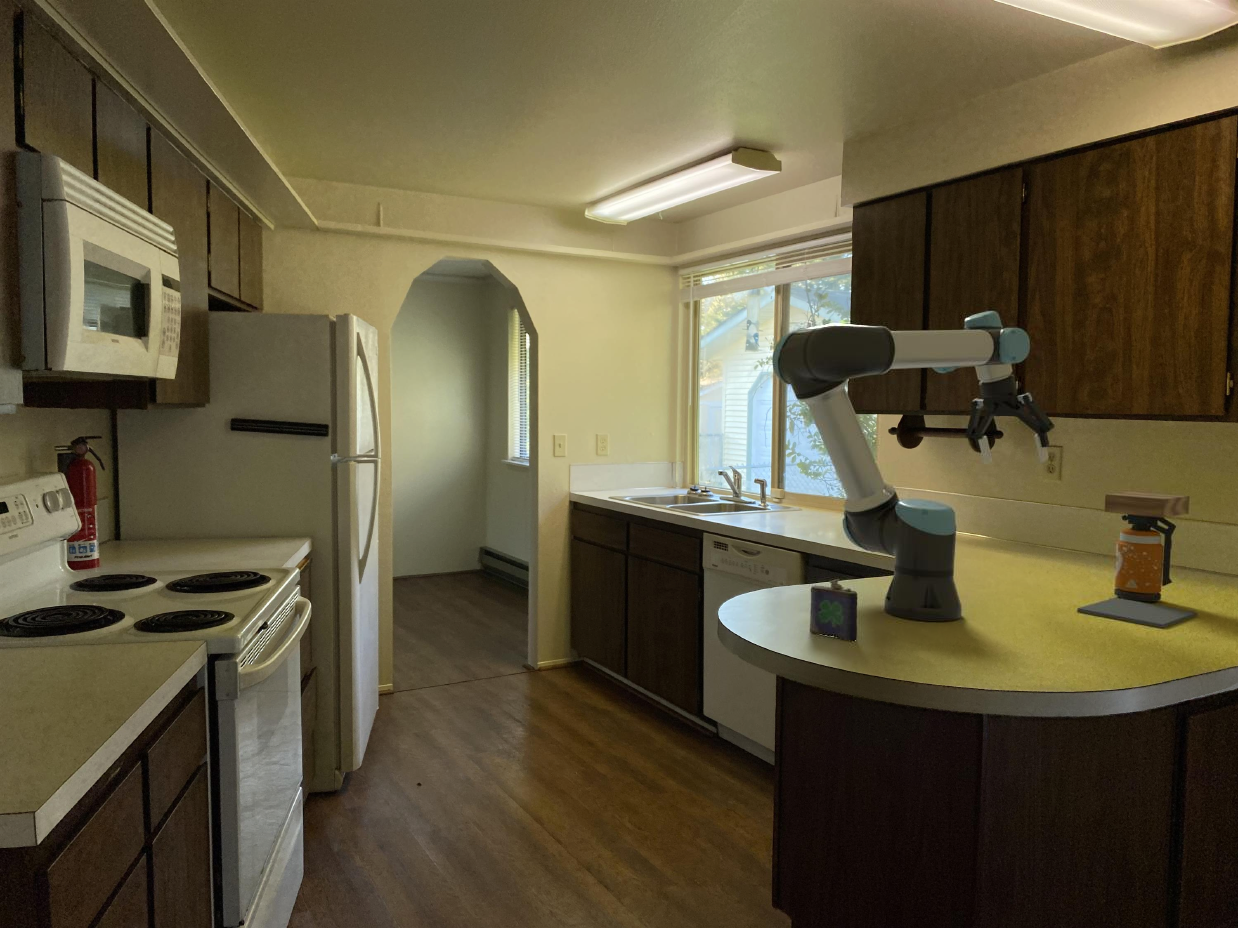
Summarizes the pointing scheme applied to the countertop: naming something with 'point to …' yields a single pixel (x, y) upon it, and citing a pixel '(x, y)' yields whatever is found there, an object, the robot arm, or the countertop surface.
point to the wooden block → (1147, 504)
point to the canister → (1143, 559)
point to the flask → (834, 611)
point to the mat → (1138, 612)
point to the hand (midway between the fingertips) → (1015, 461)
